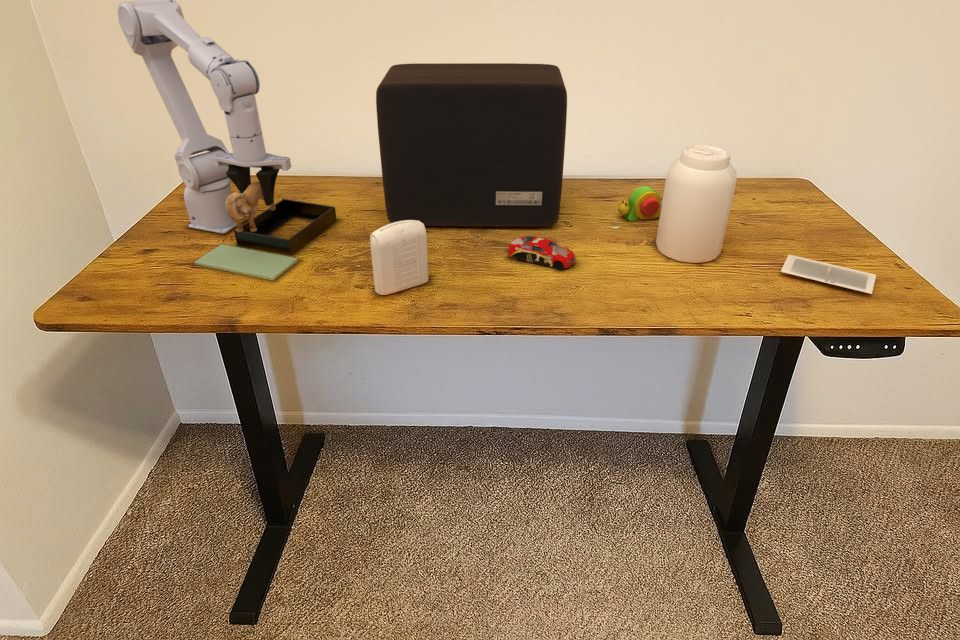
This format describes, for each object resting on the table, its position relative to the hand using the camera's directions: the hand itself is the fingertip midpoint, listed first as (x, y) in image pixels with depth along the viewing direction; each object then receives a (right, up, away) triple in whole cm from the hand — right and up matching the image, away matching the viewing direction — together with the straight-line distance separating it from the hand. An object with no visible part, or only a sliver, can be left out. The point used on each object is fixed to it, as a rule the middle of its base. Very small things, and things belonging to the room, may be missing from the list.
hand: (260, 203), depth 125 cm
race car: (+54, -11, 0) cm, 55 cm away
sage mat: (-3, -12, 0) cm, 12 cm away
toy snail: (+81, +1, +17) cm, 83 cm away
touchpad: (+106, -15, -6) cm, 107 cm away
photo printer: (+28, -16, -8) cm, 34 cm away
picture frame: (+2, -4, +11) cm, 12 cm away
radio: (+41, +1, +18) cm, 45 cm away
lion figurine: (0, -4, -1) cm, 4 cm away
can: (+84, -9, +3) cm, 84 cm away
